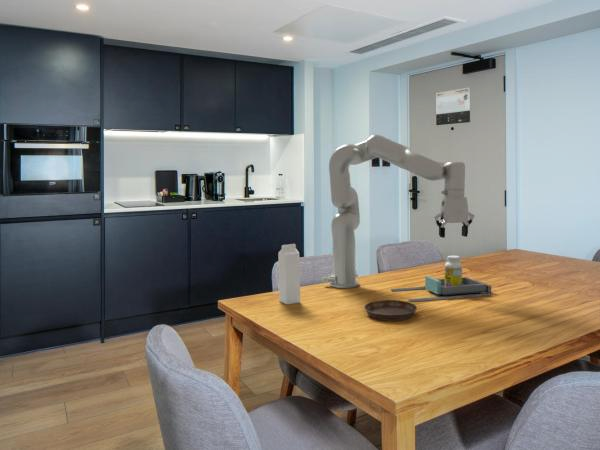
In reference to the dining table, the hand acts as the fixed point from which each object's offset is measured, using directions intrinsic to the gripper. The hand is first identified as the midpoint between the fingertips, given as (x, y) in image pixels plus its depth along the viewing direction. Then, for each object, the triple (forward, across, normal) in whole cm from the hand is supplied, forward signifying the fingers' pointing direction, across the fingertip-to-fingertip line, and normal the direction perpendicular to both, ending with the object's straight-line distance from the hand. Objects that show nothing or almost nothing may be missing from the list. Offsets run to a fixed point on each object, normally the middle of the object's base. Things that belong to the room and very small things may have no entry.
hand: (453, 236), depth 199 cm
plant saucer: (+23, -36, -22) cm, 48 cm away
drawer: (+22, +1, 0) cm, 22 cm away
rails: (+22, -6, 0) cm, 23 cm away
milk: (+23, -66, +4) cm, 70 cm away
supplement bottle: (+21, 0, 0) cm, 21 cm away
